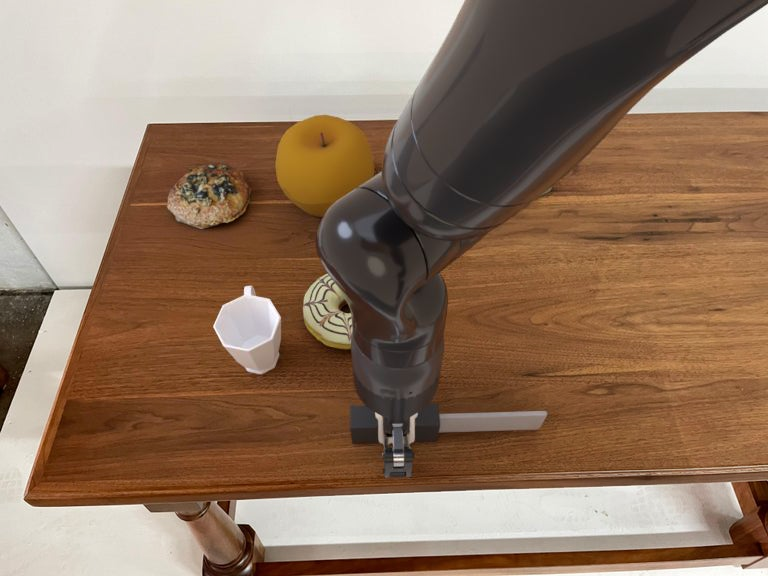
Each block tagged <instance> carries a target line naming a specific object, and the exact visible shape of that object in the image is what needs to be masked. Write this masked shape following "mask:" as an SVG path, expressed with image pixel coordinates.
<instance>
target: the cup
mask: <svg viewBox="0 0 768 576" xmlns="http://www.w3.org/2000/svg"><path fill="white" fill-rule="evenodd" d="M243 288H244V289H243V295H241V296H239V297H237V298H235V299H233V300H231V301H229V302H227V303H224V304H223V305H222V306H221V308H220V310H219V312H218V315H217V317H216V319H215V321H214V324H213V326H212V327H213V329H214V331H215V333H216V335H217V337H218V339H219V340H220V342H221V345H222V346H223V347H224V349H225V350H226V351H227V352H228V353H229V354H230V356H231V357H232V358H233V359H234V360H235V361H236V363H237V364H239V365H241V366H242V367H243V368H245V370H246V372H248V373H252V374H257V375H264V374H265V373H267V372H270V371H272V370H273V369H275V368H276V365H277V363H278V360H279V357H280V352H279V350H280V346H281V341H282V317H281V315H280V313H279V312H278V310H277V309H276V306H275V305H274V303H273V302H272V300H271V298H267V297H262V296H257V293H256V290H255V288H254V286H253V285H252V284H251V285H245V286H244V287H243Z"/></svg>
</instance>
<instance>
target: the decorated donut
mask: <svg viewBox="0 0 768 576" xmlns="http://www.w3.org/2000/svg"><path fill="white" fill-rule="evenodd" d="M302 304H303V305H302V313H303V321H304V325H305V327H306V329H307V330H308V332H309V333H310V334H311V335H312V336H313V337H314V338H316V340H317V341H319V342H320V343H322V344H324V345H325V346H327V347H330V348H334V349H338V350H351V335H352V320H351V312H349V313H347V312H344V311H342V308H343V307H345V306H346V305H348V304H347V301H346V299H345V297H344V296H343V294H342V292H341V291H340V289H339V288H338V286H337V285H336V284H335V283H334V281H333V280H332V279H331V277H330V276H329V275H328V273H327V272H326V274H324V275H322V276H320V277H318V278H317V279H316V280H315V282H313V283H312V284H311V285H310V286H309V288H308V290H307V291H306V292H305V294H304V296H303V303H302Z"/></svg>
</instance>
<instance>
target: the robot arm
mask: <svg viewBox="0 0 768 576" xmlns="http://www.w3.org/2000/svg"><path fill="white" fill-rule="evenodd" d="M766 6H768V0H464V1H463V3H462V5H461V8H460V9H459V11H458V13H457V15H456V17H455V19H454V22H453V23H452V25H451V26H450V29H449V31H448V33H447V35H446V36H445V38H444V40H443V42H442V43H441V46H439V49H438V51H437V52H436V54H435V56H434V58H433V59H432V61H431V63H430V64H429V66H428V68H427V70H426V71H425V72H424V74H423V76H422V78H421V79H420V81H419V83H418V85H417V87H416V88H415V90H414V91H413V93H412V95H411V97H410V99H409V100H408V102H407V103H406V105H405V107H404V108H403V110H402V112H401V114H400V115H399V116H398V119H397V120H396V122H395V124H394V125H393V128H392V130H391V132H390V134H389V137H388V139H387V142H386V144H385V146H384V147H385V148H384V150H383V155H382V159H381V171H379V172H378V173H377V174H374V176H373V177H372V178H370V179H369V180H367V181H366V182H364V183H363V184H361V185H360V186H358V187H357V188H356V189H354V190H352V191H350V192H349V193H347V194H346V195H344V196H343V197H341V198H340V199H338V200H337V201H336V202H334V203H333V204H332V205H331V206H330V207H329V208H328V209H327V211H326V212H325V213H324V215H323V217H321V218H320V221H319V223H318V226H317V229H316V235H315V250H316V253H317V256H318V258H319V261H320V263H321V265H322V266H323V269H324V270H325V272H326V274H327V273H328V275H329V276H330V277H331V279H332V280H333V281H334V283H335V284H336V285H337V286H338V288H339V289H340V291H341V292H342V294H343V296H344V297H345V299H346V301H347V304H346V305H348V308H349V310H350V313H351V320H352V335H351V349H350V354H351V364H352V365H351V366H352V375H353V376H352V377H353V384H354V388H355V392H356V394H357V396H358V398H359V400H360V401H361V402H362V404H363V405H366V406H367V407H368V408H369V409H371V410H372V411H374V412H375V417H376V418H377V419H378V441H379V442H380V443H379V444H382V445H383V451H382V452H381V455H382V460H383V462H384V463H383V465H384V466H383V467H384V468H382V474H383V475H384V479H389V478H390V479H394V478H397V479H398V478H411V477H412V474H413V463H414V459H415V452H413V448H412V446H411V444H412V443H415V442H414V440H415V418H416V417H417V416H418V412H419V411H421V410H422V409H424V408H425V407H426V406H427V405H428V404H431V402H432V400H433V399H434V397H435V395H436V394H437V390H438V387H439V381H440V375H441V369H442V364H443V360H444V359H443V358H444V353H445V334H444V333H445V329H446V328H445V327H446V322H447V317H448V307H449V306H448V305H449V296H448V288H447V284H446V281H445V278H444V277H443V276H442V274H441V272H442V271H443V270H445V269H446V268H448V267H449V266H450V265H451V264H452V263H453V262H455V261H457V260H458V259H459V258H461V256H463V255H464V254H465V253H466V252H468V251H469V250H470V249H472V248H473V247H474V246H475V245H476V244H477V243H479V242H481V240H483V238H485V237H486V236H487V235H488V234H489V233H490V232H491V231H493V230H496V229H497V228H499V227H500V226H502V225H504V224H505V223H506V222H507V221H509V220H510V219H511V218H513V217H514V216H516V215H517V214H518V213H519V212H521V211H523V209H525V208H526V207H527V206H528V205H530V204H532V203H533V202H534V201H536V200H537V199H538V198H540V197H541V196H540V195H542V194H543V193H544V192H546V191H547V190H548V189H549V188H551V187H552V188H553V186H554V185H556V184H557V183H558V182H559V181H561V180H562V179H563V178H564V177H565V176H566V175H568V174H569V173H570V172H571V171H572V170H573V169H575V168H576V167H577V166H578V165H579V164H580V163H581V162H583V161H584V159H586V157H588V156H589V155H590V154H591V152H593V151H594V149H596V148H597V147H598V145H599V144H600V143H601V142H602V141H603V140H604V139H606V137H607V136H608V135H609V134H610V133H611V132H612V131H613V129H614V128H615V127H616V126H617V125H618V124H619V123H620V121H622V120H623V119H624V118H625V116H627V114H628V113H629V112H630V111H631V110H632V109H633V108H634V107H635V106H636V105H637V104H638V103H639V102H640V101H641V100H642V99H644V97H646V95H647V94H649V93H650V92H651V91H652V90H653V89H654V88H655V87H656V86H657V85H659V84H660V83H661V82H663V80H665V79H666V78H667V77H668V76H670V75H671V74H672V73H673V72H675V71H676V70H677V69H678V68H679V67H681V66H683V64H685V63H686V62H688V61H689V60H690V59H691V58H693V57H694V56H696V55H697V54H699V53H700V52H701V51H702V50H704V49H705V48H706V47H708V46H709V45H711V44H712V43H713V42H715V41H716V40H718V39H719V38H720V37H721V36H723V35H724V34H726V33H727V32H728V31H731V29H733V28H735V27H736V26H738V25H739V24H741V23H742V22H744V21H746V20H747V19H748V18H749V17H751V16H752V15H754V14H756V13H757V12H758V11H760V10H761V9H763V8H764V7H766ZM539 196H540V197H539ZM542 196H543V195H542ZM383 417H384V422H385V428H384V426H383ZM390 444H392V447H390Z"/></svg>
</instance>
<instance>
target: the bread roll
mask: <svg viewBox="0 0 768 576" xmlns="http://www.w3.org/2000/svg"><path fill="white" fill-rule="evenodd" d="M251 194H252V188H251V187H250V184H249V182H248V179H247V178H246V176H245V174H243V172H242V171H240V170H238V169H237V168H235V167H233V166H231V165H229V164H226V163H221V162H214V163H208V164H202V165H199V166H196V167H193V168H192V169H189V170H188V171H186V173H185V174H184V175H182V177H180V179H179V180H177V182H176V183H175V184H174V185H173V186H172V188H170V191H169V193H168V197H167V204H166V208H167V210H168V211H170V213H172V215H173V216H174V218H175V221H176V222H181V223H182V224H185V225H188V226H192V227H193V228H197V229H200V230H203V229H207V228H211V227H214V226H215V227H216V226H218V225H220V224H224V223H226V224H228V223H230V222H233V221H235V220H236V219H238V218H240V217H241V216H242V215H243V214H244V213H245V212H246V211H247V207H248V205H249V203H250V201H251V198H250V196H251Z"/></svg>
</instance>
